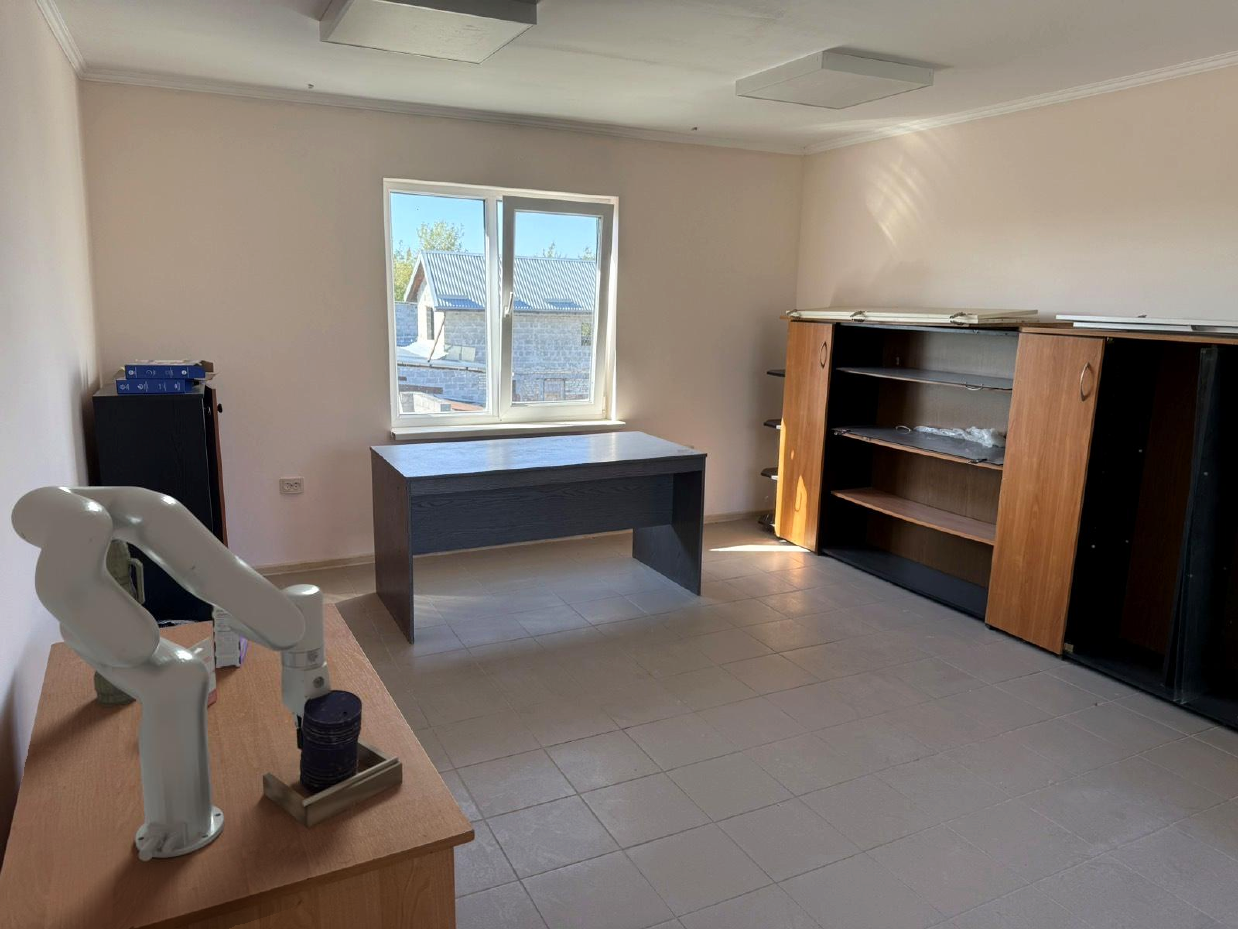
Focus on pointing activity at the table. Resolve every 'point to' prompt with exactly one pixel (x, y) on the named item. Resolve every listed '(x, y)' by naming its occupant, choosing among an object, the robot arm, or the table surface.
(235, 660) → the candy box
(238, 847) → the table surface
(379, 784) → the dock
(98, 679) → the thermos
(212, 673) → the ink cartridge box
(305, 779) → the dark blue cylinder
